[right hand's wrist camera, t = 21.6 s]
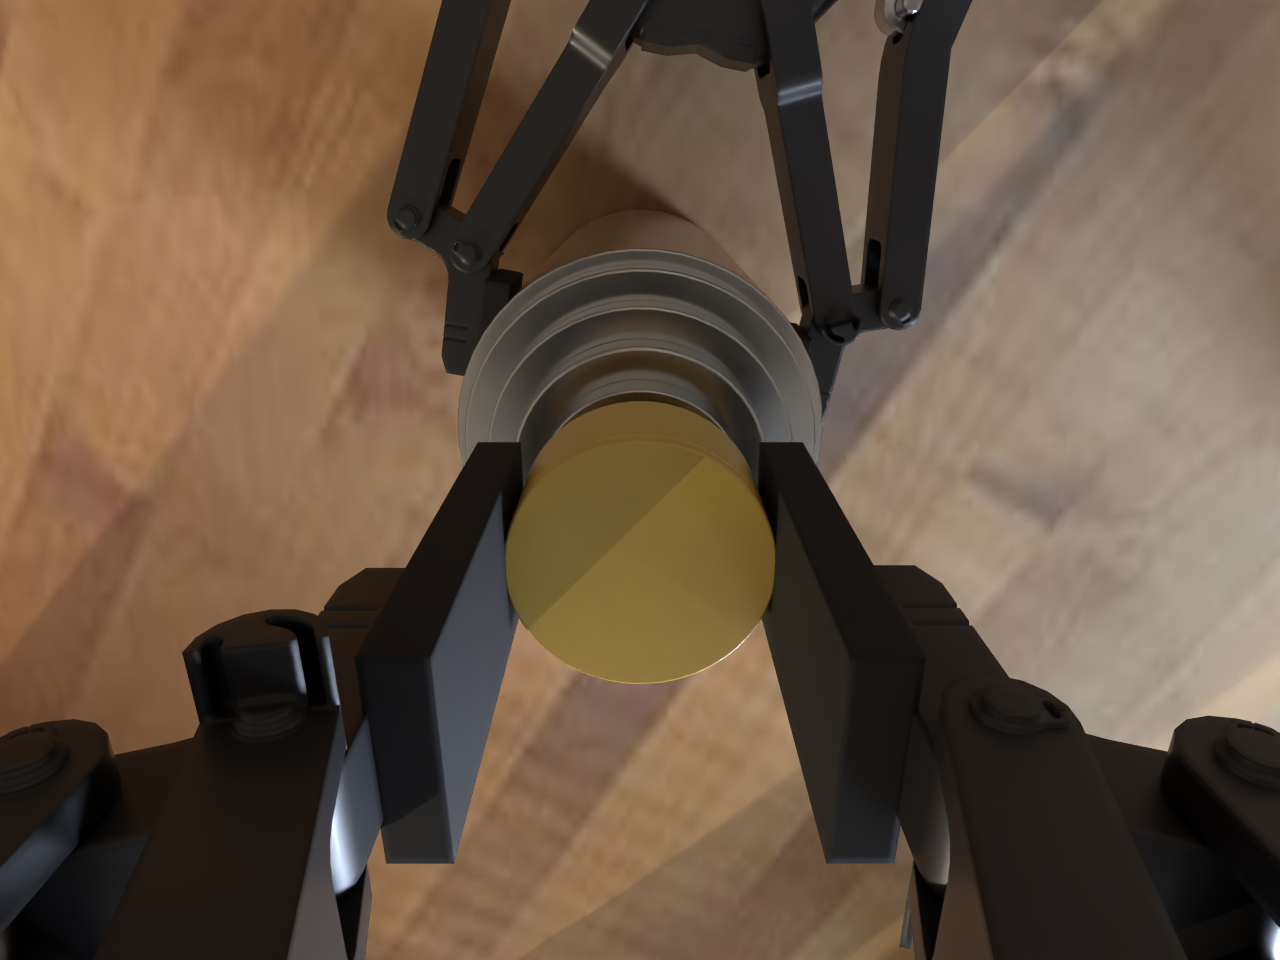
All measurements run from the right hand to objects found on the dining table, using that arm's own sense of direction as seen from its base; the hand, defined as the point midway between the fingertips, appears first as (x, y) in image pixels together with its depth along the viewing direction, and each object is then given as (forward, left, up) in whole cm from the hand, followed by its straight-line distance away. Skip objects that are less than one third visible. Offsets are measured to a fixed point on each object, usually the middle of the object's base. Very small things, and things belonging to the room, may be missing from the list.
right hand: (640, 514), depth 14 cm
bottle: (0, 0, -19) cm, 19 cm away
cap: (0, 0, +2) cm, 2 cm away
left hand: (-3, +4, -12) cm, 13 cm away
